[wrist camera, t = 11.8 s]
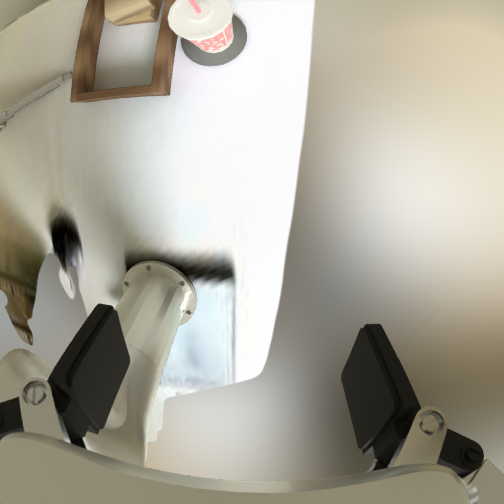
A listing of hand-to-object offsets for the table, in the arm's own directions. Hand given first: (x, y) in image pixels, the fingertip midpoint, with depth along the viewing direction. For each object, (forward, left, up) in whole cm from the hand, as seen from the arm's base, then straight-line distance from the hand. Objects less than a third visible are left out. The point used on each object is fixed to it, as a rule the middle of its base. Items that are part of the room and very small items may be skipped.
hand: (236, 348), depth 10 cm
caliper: (-21, +34, -28) cm, 49 cm away
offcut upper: (+2, +31, -25) cm, 39 cm away
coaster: (+7, +19, -27) cm, 34 cm away
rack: (-1, +27, -27) cm, 38 cm away
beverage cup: (+7, +19, -27) cm, 34 cm away
